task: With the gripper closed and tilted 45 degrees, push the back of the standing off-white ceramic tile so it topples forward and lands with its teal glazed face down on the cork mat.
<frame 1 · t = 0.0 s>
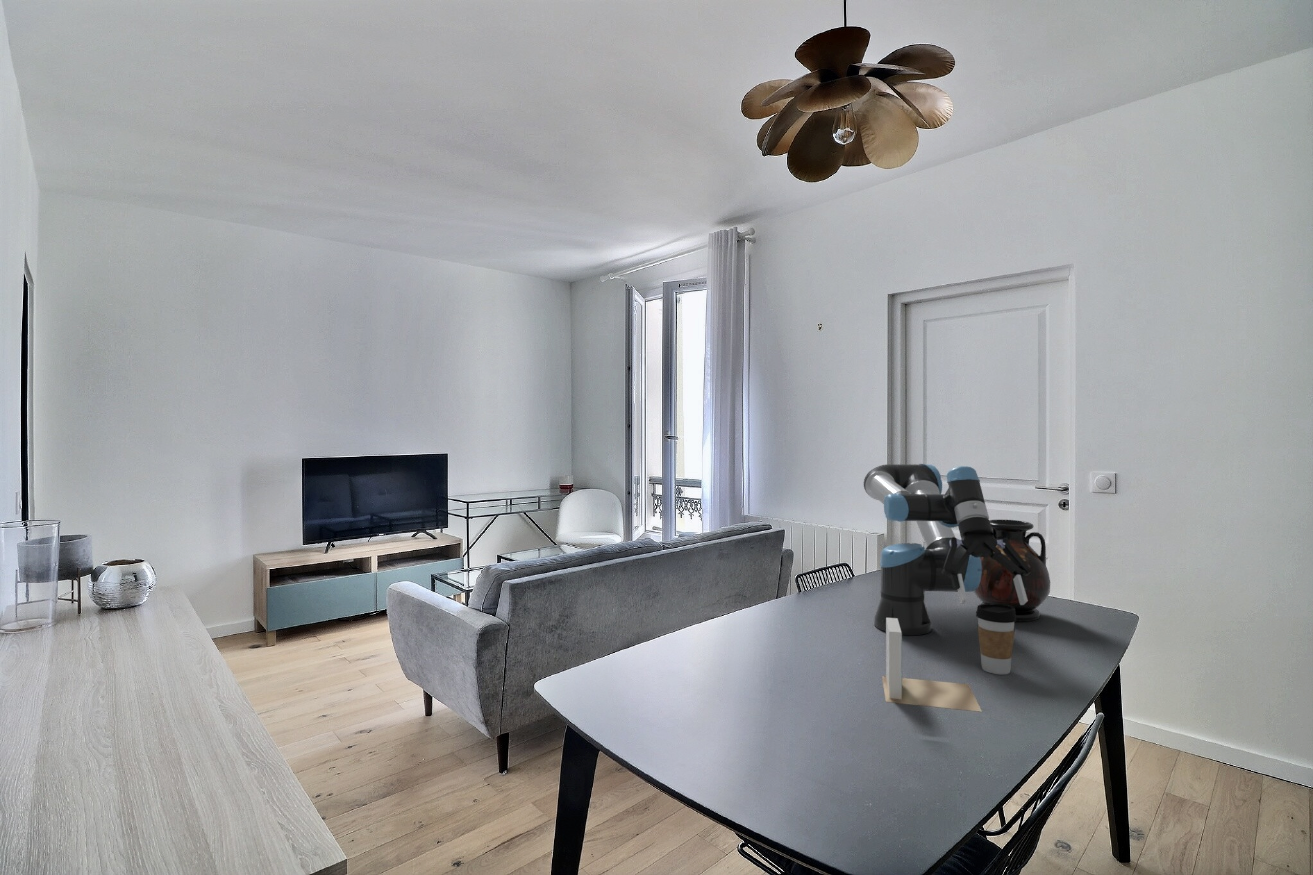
hand: (993, 602, 153), 15 cm above the table, tool tilted 35°, fingers open, 13 cm apart
mat: (928, 695, 137), on the table
amphora vase: (1008, 615, 195), on the table
tile: (893, 689, 139), point 1 cm above the table, touching mat
coffee cup: (995, 670, 151), on the table
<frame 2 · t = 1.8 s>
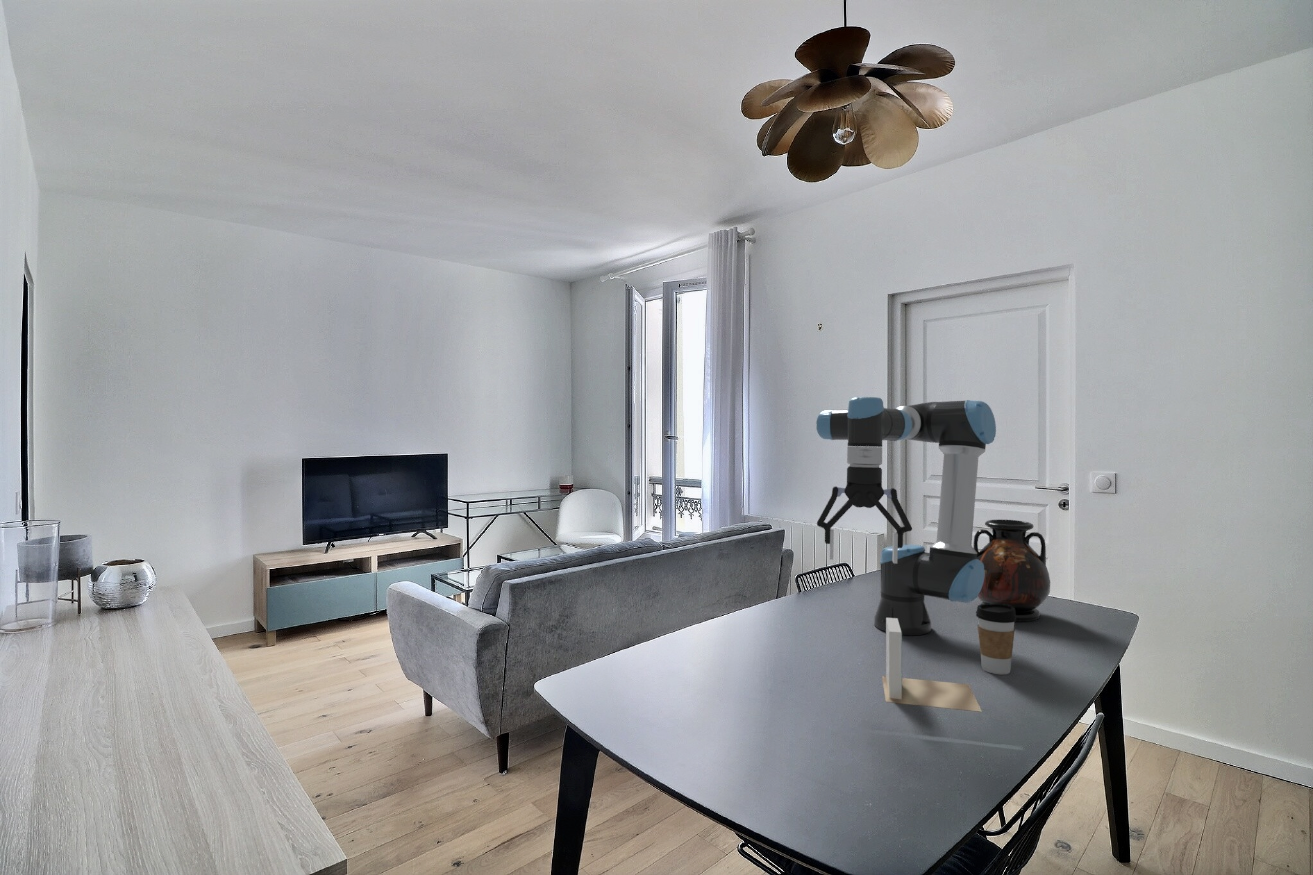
hand: (862, 560, 145), 27 cm above the table, tool pointing down, fingers open, 13 cm apart
nothing on the table moved.
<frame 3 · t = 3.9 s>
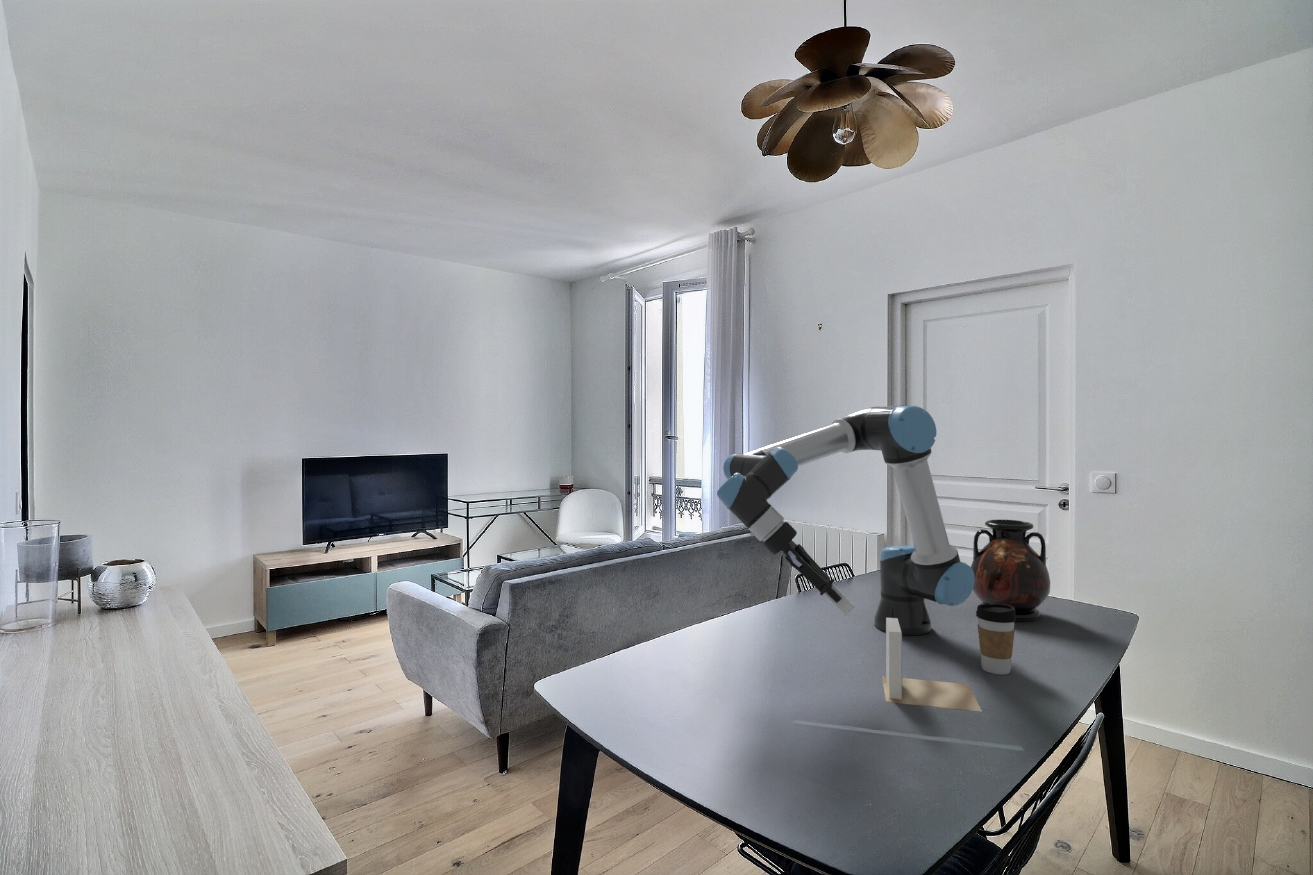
hand: (850, 610, 141), 17 cm above the table, tool tilted 45°, fingers closed
nothing on the table moved.
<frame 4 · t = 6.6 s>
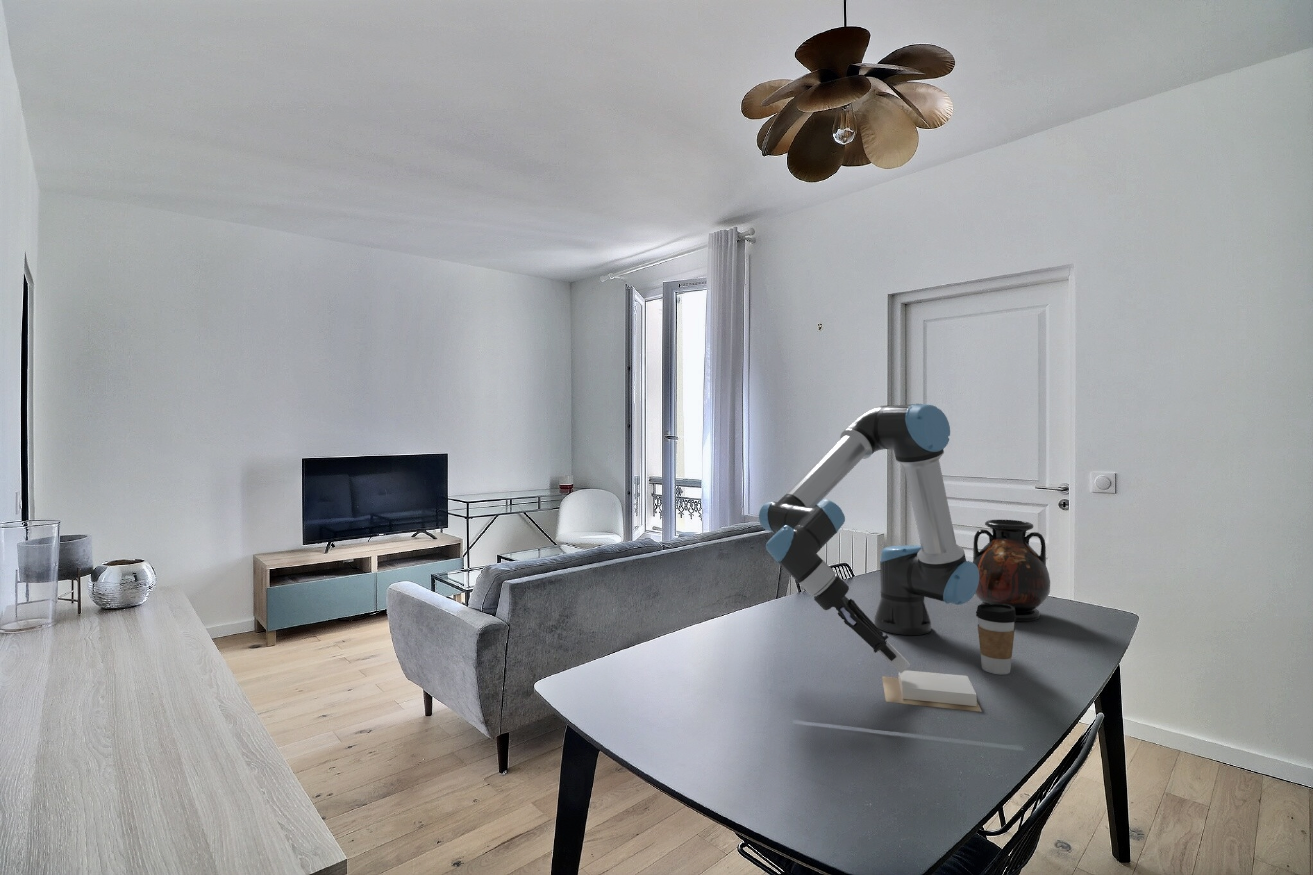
hand: (905, 668, 138), 5 cm above the table, tool tilted 45°, fingers closed
tile: (900, 683, 139), point 2 cm above the table, tilted 90°, touching mat
everything else where it was.
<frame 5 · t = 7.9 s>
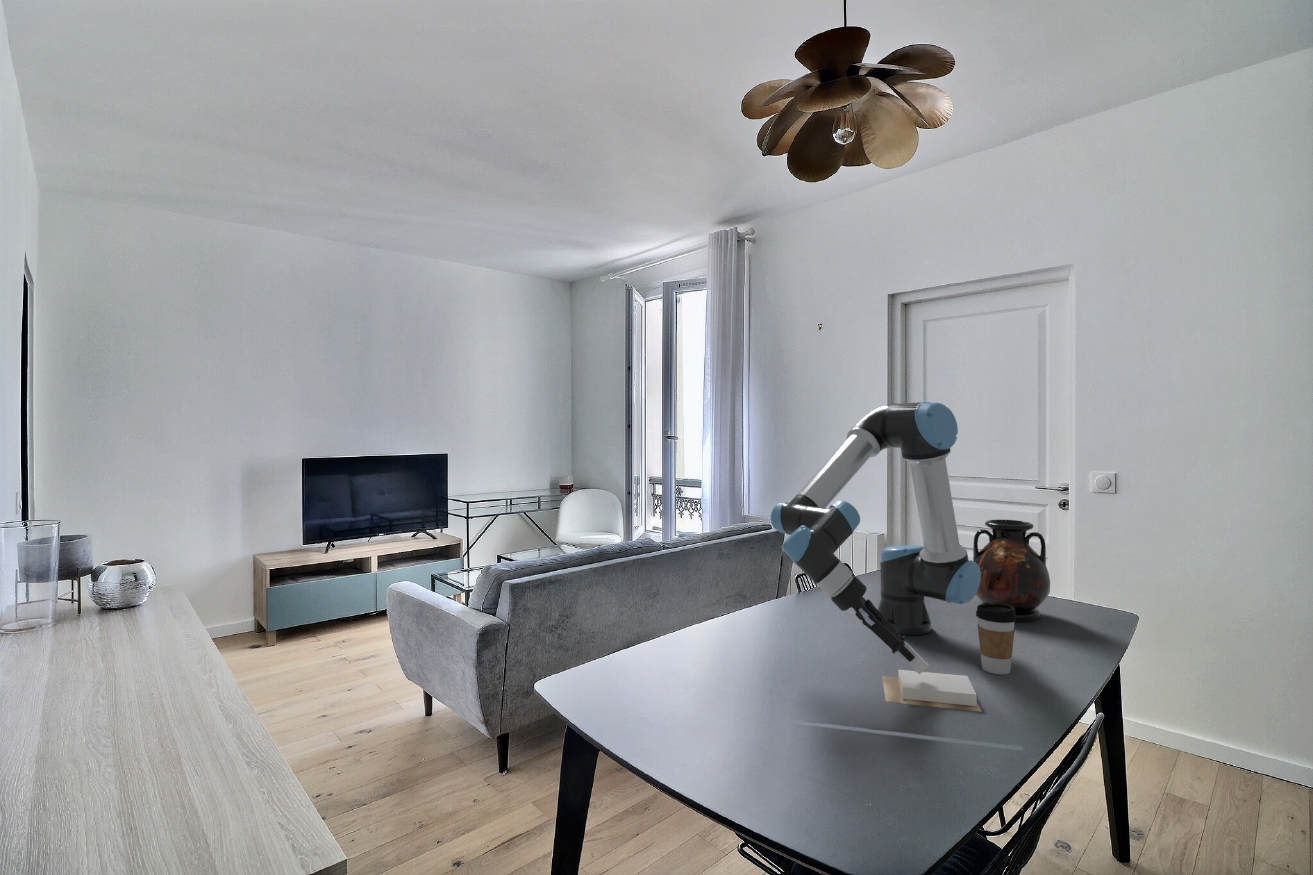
hand: (923, 669, 137), 6 cm above the table, tool tilted 45°, fingers closed
nothing on the table moved.
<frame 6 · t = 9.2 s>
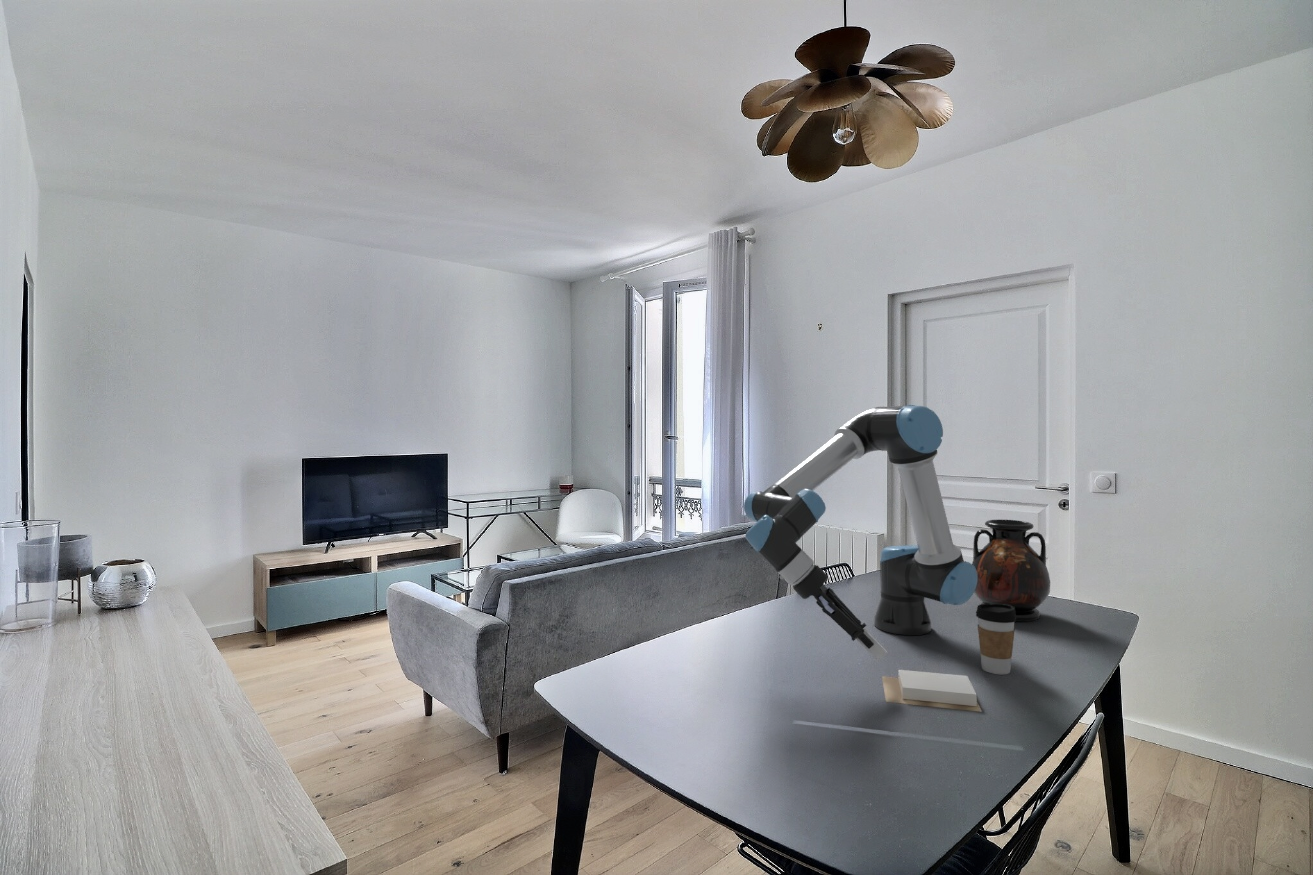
hand: (882, 656, 139), 8 cm above the table, tool tilted 45°, fingers closed
nothing on the table moved.
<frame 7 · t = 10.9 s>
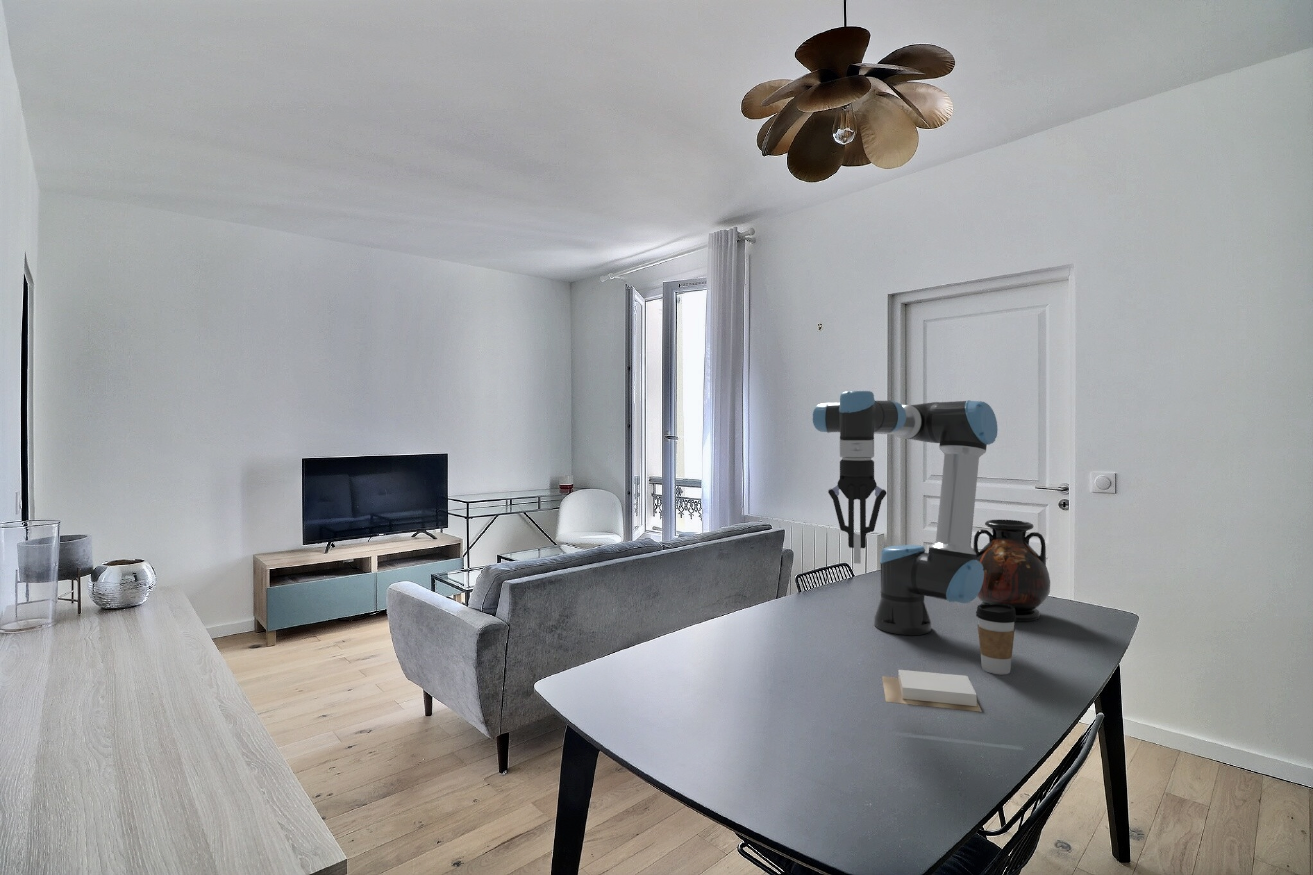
hand: (857, 562, 147), 26 cm above the table, tool pointing down, fingers closed
nothing on the table moved.
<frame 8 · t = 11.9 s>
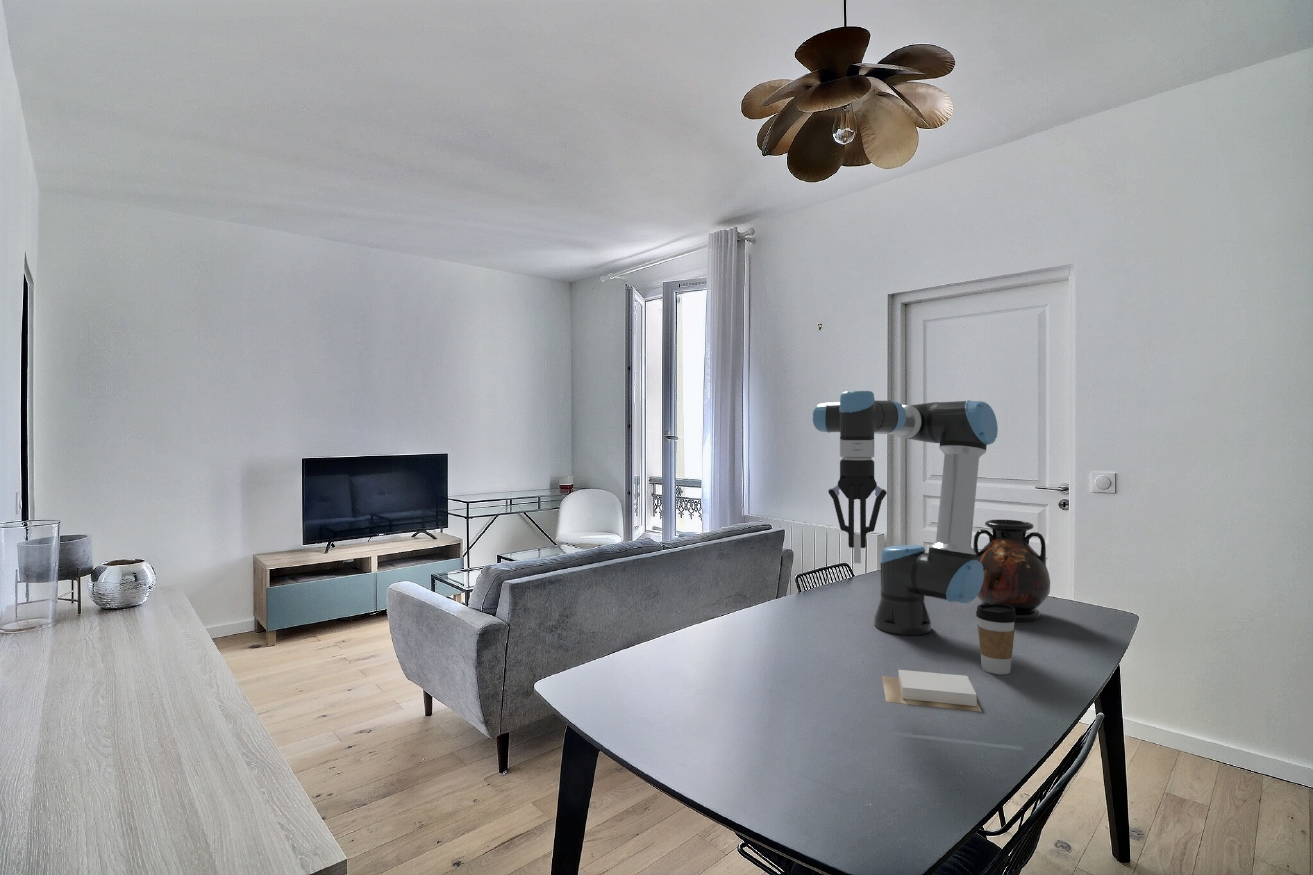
hand: (857, 561, 147), 26 cm above the table, tool pointing down, fingers closed
nothing on the table moved.
at the end: tile tilted 90°; tile 5.6 cm from the mat (horizontally) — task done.
